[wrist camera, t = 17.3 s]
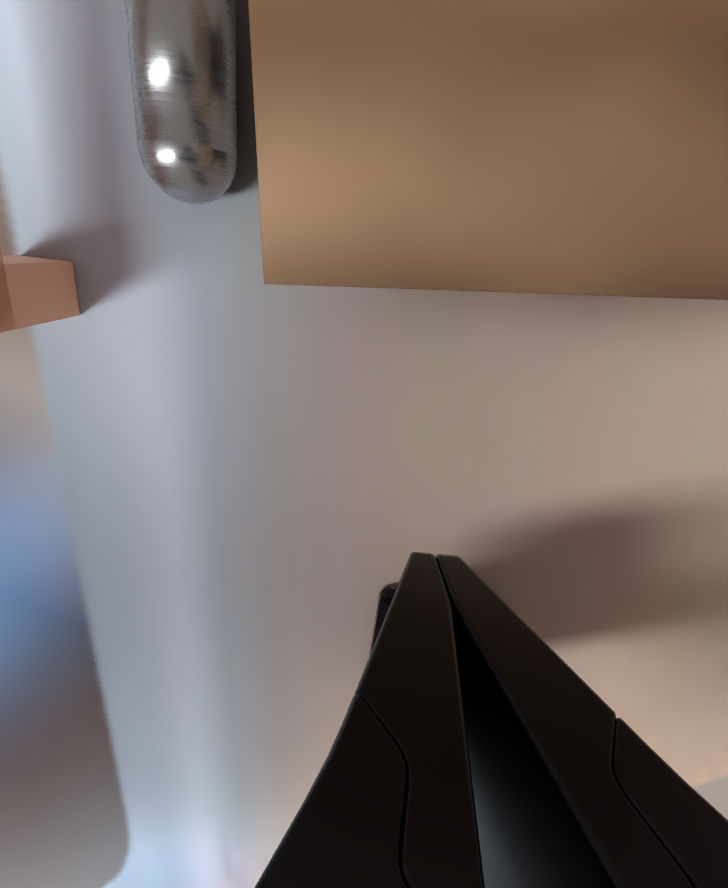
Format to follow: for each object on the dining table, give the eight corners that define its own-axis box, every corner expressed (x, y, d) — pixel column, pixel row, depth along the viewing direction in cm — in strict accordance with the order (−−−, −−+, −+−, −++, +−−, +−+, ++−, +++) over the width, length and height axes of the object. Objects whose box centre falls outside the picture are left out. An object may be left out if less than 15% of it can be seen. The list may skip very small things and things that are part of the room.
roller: (137, -107, 13) (87, -201, 10) (241, -86, 13) (221, -172, 11) (159, 202, 16) (127, 193, 13) (244, 212, 16) (228, 205, 14)
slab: (708, 293, 14) (773, 301, 12) (281, 278, 14) (264, 283, 12) (855, -153, 10) (991, -267, 8) (262, -173, 10) (231, -293, 8)
